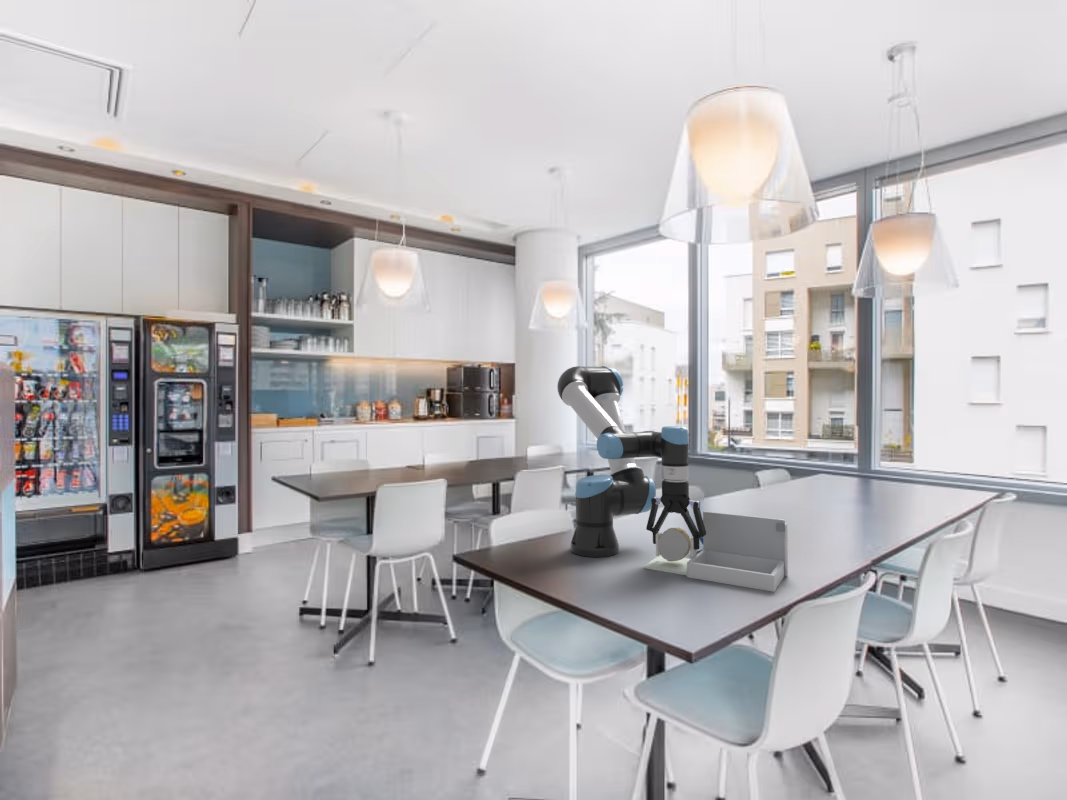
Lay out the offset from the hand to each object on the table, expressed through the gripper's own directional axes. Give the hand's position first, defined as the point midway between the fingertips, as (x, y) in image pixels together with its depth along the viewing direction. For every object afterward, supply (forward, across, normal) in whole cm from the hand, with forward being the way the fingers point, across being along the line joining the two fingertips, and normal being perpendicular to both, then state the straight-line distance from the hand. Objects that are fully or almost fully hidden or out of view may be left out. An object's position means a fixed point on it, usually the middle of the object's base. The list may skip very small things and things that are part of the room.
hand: (675, 557), depth 163 cm
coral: (0, 0, 0) cm, 0 cm away
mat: (+2, 0, 0) cm, 2 cm away
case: (+2, +17, -1) cm, 17 cm away
